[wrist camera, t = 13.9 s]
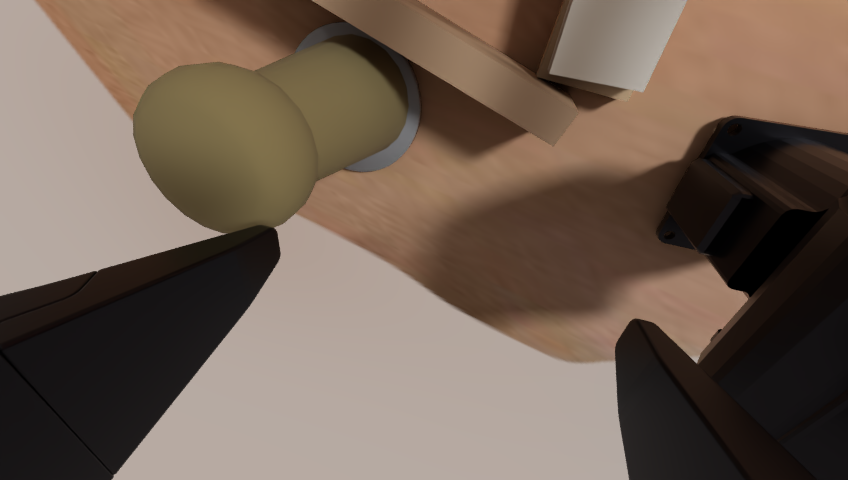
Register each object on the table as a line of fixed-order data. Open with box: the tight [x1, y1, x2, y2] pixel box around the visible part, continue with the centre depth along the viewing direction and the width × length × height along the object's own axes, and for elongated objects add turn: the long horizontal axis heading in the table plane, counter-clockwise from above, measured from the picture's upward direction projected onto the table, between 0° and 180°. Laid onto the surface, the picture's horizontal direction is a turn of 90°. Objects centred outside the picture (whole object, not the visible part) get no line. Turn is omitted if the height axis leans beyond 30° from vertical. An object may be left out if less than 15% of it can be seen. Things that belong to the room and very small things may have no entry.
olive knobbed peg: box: [133, 34, 409, 233], centre depth 14 cm, size 6×6×11 cm
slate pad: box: [295, 22, 421, 172], centre depth 19 cm, size 8×8×1 cm
